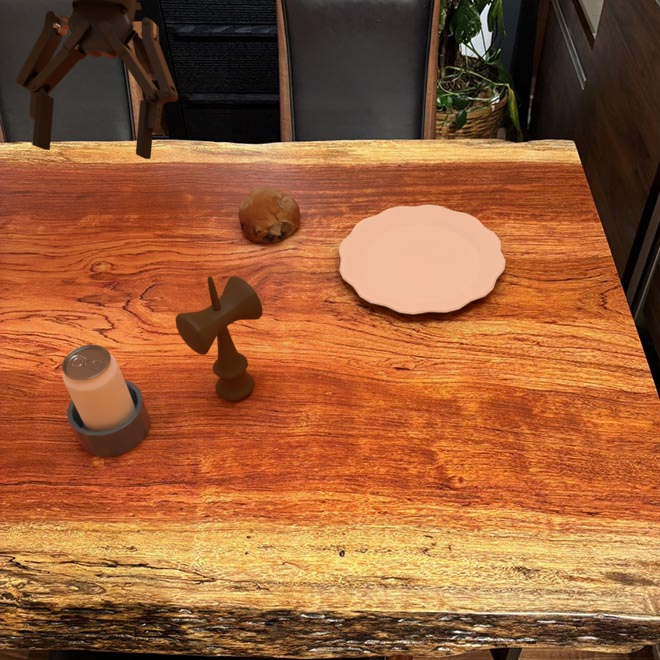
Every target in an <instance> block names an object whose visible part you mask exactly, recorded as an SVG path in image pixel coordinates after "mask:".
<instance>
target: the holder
mask: <svg viewBox="0 0 660 660" xmlns="http://www.w3.org/2000/svg"><path fill="white" fill-rule="evenodd" d="M124 380H125V383H126V385H127V388H128V390H129V393H130V395H131V398H132V401H133V403H134V406H135V408H136V410H135V412H134V413H133V415H132V416H131V417H130V418H129V419H128V421H126V422H125V423H123V424H121V425H120V426H118V427H117V428H114V429H110V430H107V431H103V432H91V431H88V430H87V429H86V427H85V425H84V423H83V421H82V419H81V417H80V415H79V413H78V411H77V409H76V407H75V404H74V402H73V400H72V398H71V399H70V401H69V404H68V407H67V409H66V416H67V422H68V424H69V426H70V428H71V431H72V432H73V434H74V436H75V438H76V440H77V442H79V444H80V446H81V447H82V449H84V451H86V452H88V453H89V454H91V455H93V456H97V457H102V458H103V457H105V458H110V457H116V456H121V455H123V454H127V453H128V452H130V451H131V450H134V449H136V447H138V445H140V444H141V443H142V442H143V441H144V440H145V438H146V437H147V435H148V434H149V431H150V428H151V416H150V414H149V409H148V406H147V404H146V401H145V398H144V395H143V393H142V391H141V389H140V388H139V387H138V386H137V385H136V384H135V383H134V382H132V381H131V380H128V379H127V380H126V379H124Z"/></svg>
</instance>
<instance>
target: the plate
mask: <svg viewBox="0 0 660 660" xmlns="http://www.w3.org/2000/svg"><path fill="white" fill-rule="evenodd" d="M337 251H338V255H339V259H340V262H339V263H340V264H339V270H338V271H339V273H340V276H341V278H342V280H343V281H344V282H345V283H347V284H348V285H349V286H350V287H352V288H353V289H354V291H355V292H356V294H357V296H358V297H359V298H361V299H362V300H363V301H365V302H367V303H368V304H371V305H375V306H379V307H384V308H387V309H389V310H391V311H394V312H396V313H398V314H401V315H402V314H403V315H409V316H415V315H416V316H417V315H422V314H429V313H431V314H448V313H453V312H457V311H459V310H461V309H463V308H464V307H466V306H467V305H469V304H471V303H472V302H476V301H478V300H481V299H484V298H485V297H487V296H488V295H489V294H490V293H491V292H492V291H493V290H494V288H495V285H496V283H497V280H498V278H499V277H500V276H501V275H502V274H503V273H504V271H505V268H506V263H507V262H506V258H505V257H504V254H503V252H502V241H501V239H500V237H498V235H497V233H496V232H493V231H492V230H491V229H489V228H487V227H486V226H485V225H484V224H483V223H482V222H481V221H480V220H479V219H478V217H475V216H473V215H471V214H469V213H467V212H461V211H456V210H452V209H451V208H450V209H449V208H447V207H444V206H442V205H436V204H422V205H414V206H411V205H410V206H409V205H407V206H406V205H398V206H394V207H389V208H386V209H385V210H383V211H381V212H379V213H378V214H376V215H372V216H369V217H365V218H363V219H362V220H360V221H359V222H357V223H356V224H355V225H354V226H353V227H352V230H351V232H350V233H349V234H348V235H347V236H346V237H345V238H344V239H342V240H341V243H340V245H339V247H338V250H337Z"/></svg>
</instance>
